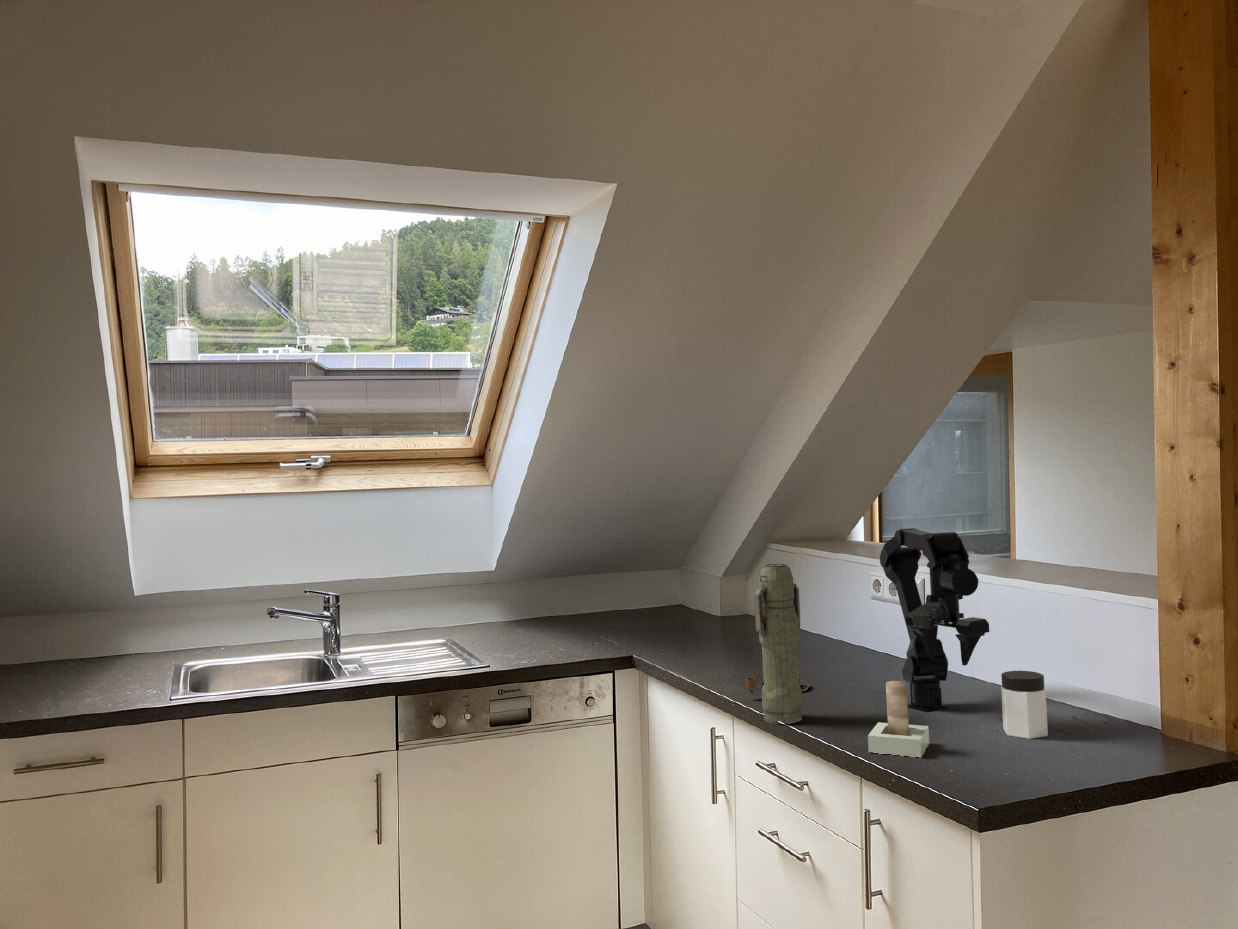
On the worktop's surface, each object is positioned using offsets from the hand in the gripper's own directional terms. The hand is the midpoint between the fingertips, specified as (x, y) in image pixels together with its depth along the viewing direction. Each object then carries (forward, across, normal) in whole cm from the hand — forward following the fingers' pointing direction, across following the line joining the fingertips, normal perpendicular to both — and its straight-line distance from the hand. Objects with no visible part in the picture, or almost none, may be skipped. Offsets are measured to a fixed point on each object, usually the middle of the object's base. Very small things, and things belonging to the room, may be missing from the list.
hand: (948, 661), depth 207 cm
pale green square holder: (+13, +7, -22) cm, 27 cm away
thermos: (+13, -24, -27) cm, 38 cm away
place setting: (+14, -47, -12) cm, 51 cm away
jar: (+13, +15, +5) cm, 21 cm away
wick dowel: (+13, +7, -22) cm, 27 cm away
